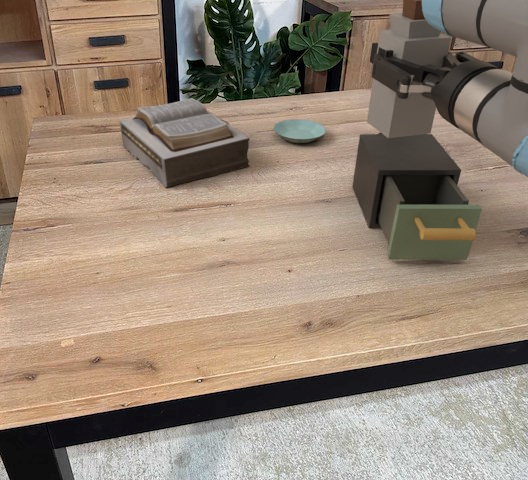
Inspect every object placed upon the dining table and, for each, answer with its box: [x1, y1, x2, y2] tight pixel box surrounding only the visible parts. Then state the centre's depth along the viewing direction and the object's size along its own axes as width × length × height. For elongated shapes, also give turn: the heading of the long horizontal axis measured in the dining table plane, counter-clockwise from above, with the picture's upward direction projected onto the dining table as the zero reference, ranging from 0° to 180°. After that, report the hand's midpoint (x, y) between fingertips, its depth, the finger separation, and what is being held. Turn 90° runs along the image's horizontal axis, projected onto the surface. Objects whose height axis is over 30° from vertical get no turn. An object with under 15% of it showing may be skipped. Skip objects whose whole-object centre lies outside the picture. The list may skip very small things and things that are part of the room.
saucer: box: [272, 118, 327, 144], centre depth 122 cm, size 12×12×2 cm
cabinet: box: [351, 133, 462, 229], centre depth 93 cm, size 15×13×11 cm
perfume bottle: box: [366, 0, 452, 138], centre depth 75 cm, size 7×7×18 cm
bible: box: [118, 97, 251, 189], centre depth 113 cm, size 23×27×10 cm
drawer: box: [376, 175, 483, 261], centre depth 82 cm, size 18×12×9 cm, turn 178°
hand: (393, 51), depth 79 cm, fingers closed on perfume bottle, 6 cm apart
